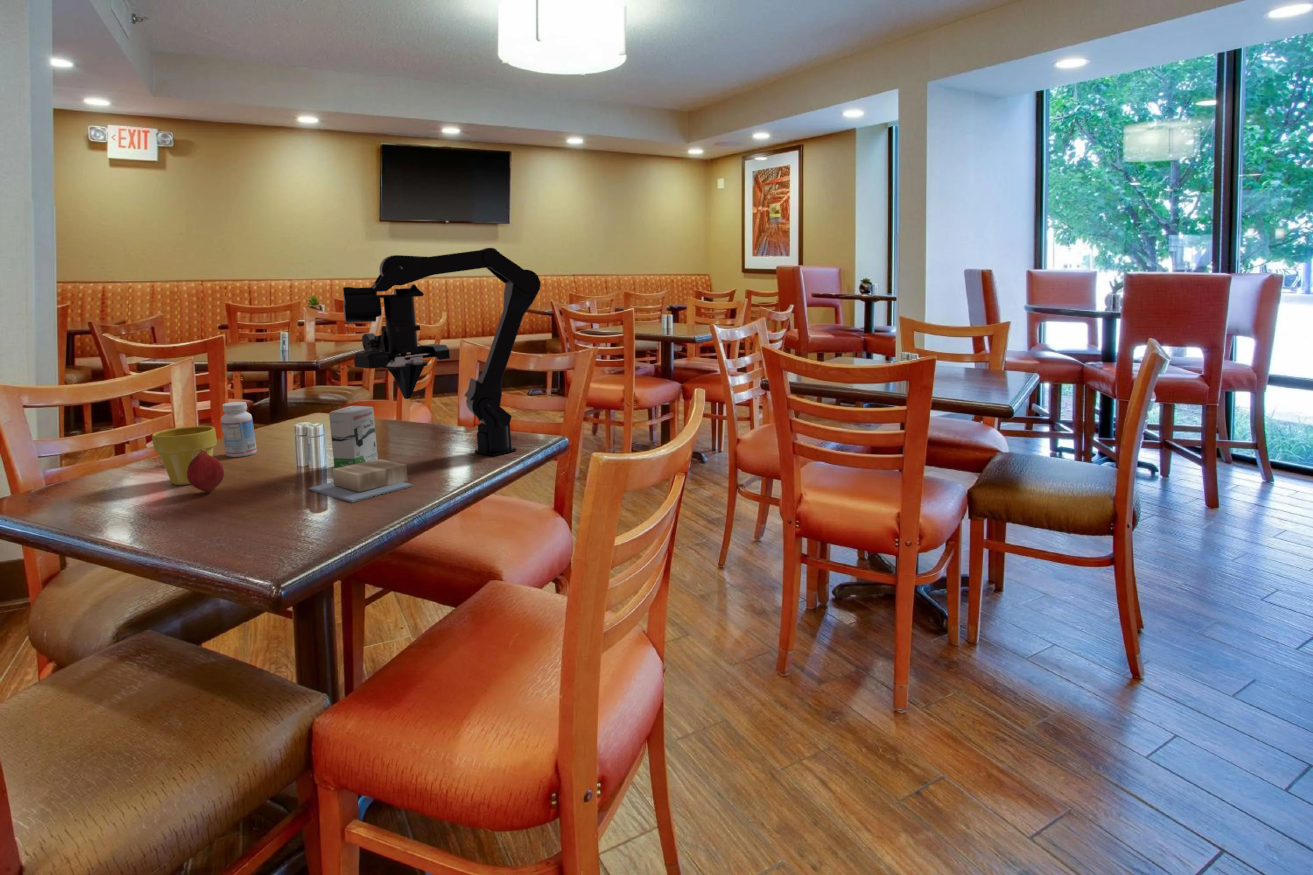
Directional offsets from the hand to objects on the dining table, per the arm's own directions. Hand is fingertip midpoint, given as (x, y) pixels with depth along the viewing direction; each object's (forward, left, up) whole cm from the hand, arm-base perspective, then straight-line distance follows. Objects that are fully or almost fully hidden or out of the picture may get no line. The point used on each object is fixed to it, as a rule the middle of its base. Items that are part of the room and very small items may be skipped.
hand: (407, 398), depth 162 cm
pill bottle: (+17, -38, -13) cm, 44 cm away
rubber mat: (+17, +9, -13) cm, 24 cm away
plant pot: (+33, -24, -13) cm, 43 cm away
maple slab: (+10, +9, -11) cm, 18 cm away
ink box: (+9, -6, -13) cm, 17 cm away
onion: (+35, -12, -13) cm, 39 cm away
